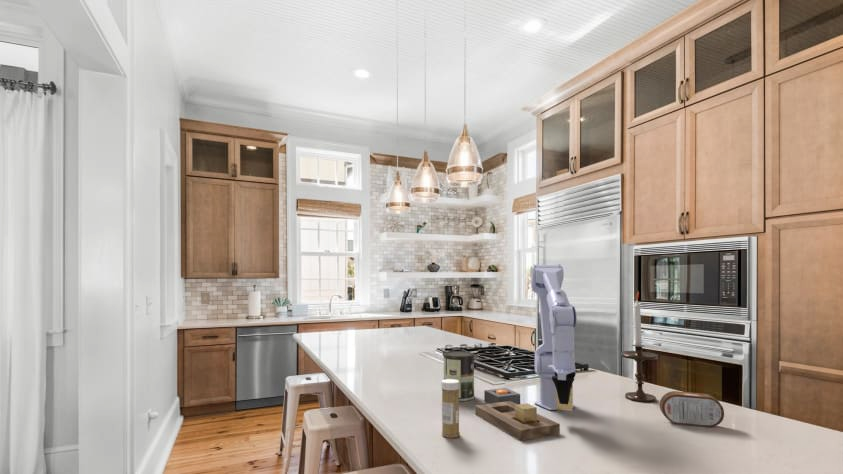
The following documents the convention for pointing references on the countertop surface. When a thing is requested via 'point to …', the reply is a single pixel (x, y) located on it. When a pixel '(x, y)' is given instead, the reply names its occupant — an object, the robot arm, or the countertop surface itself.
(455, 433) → the sprinkles bottle
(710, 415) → the tin
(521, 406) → the block
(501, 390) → the button
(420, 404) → the countertop surface
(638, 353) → the candlestick
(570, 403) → the loose billet
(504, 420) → the wooden socket board
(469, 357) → the coffee can
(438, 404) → the countertop surface
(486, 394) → the button housing
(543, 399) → the robot arm
